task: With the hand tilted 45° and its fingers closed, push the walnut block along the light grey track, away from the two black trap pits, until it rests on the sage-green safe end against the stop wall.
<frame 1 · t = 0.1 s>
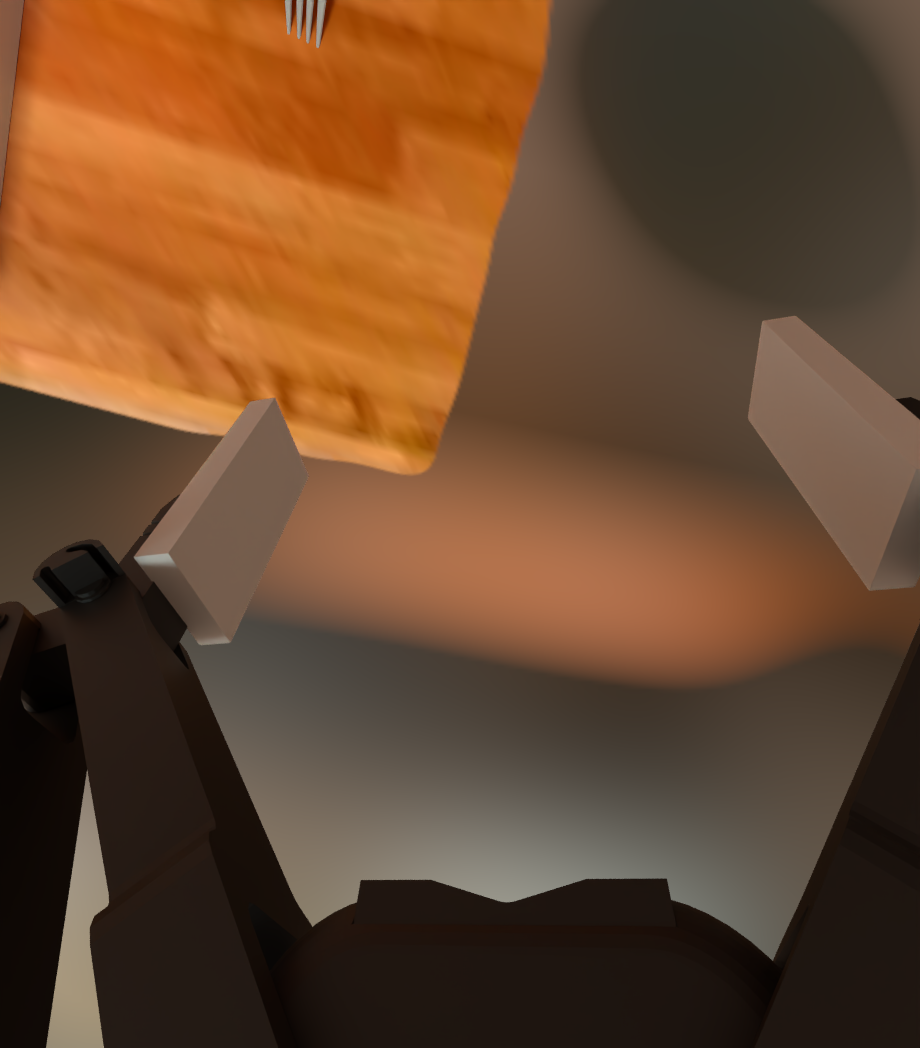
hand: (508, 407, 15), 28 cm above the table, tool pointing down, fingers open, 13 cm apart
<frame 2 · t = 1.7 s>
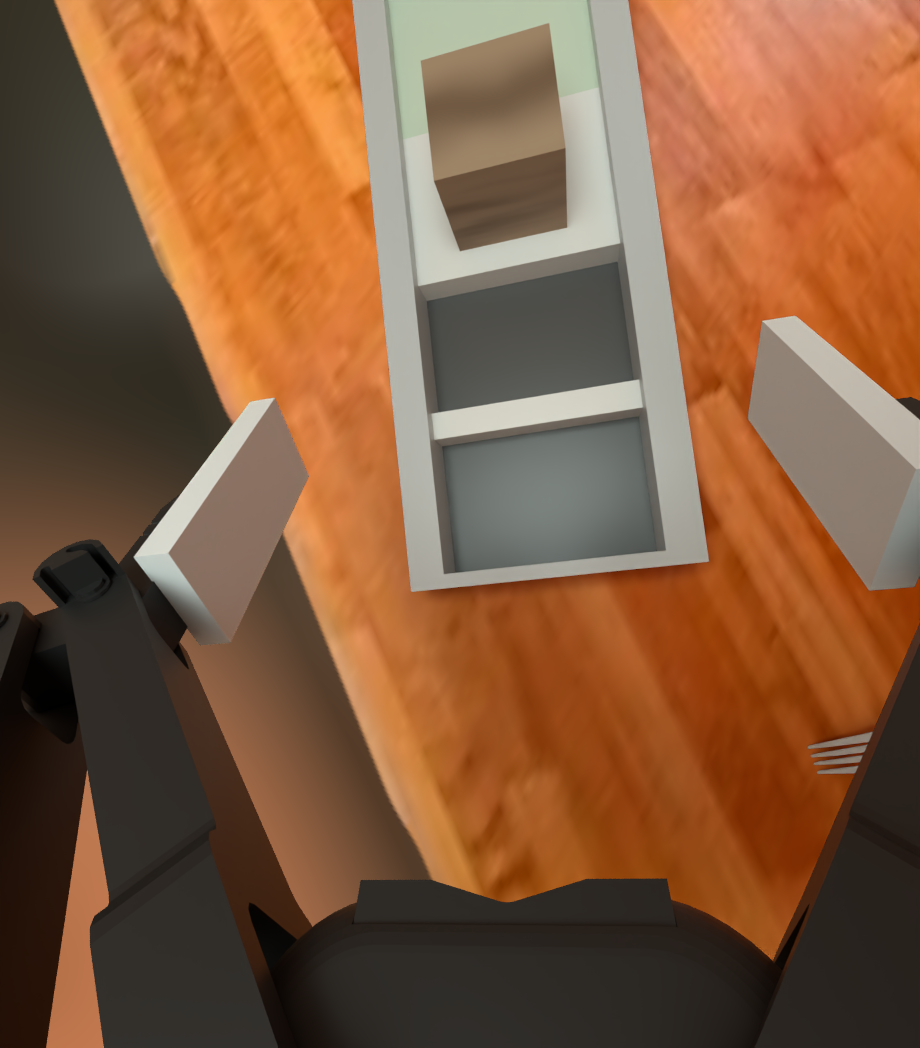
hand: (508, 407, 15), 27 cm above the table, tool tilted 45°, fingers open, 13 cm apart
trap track: (516, 261, 44), on the table
walnut block: (506, 188, 41), point 3 cm above the table, touching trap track
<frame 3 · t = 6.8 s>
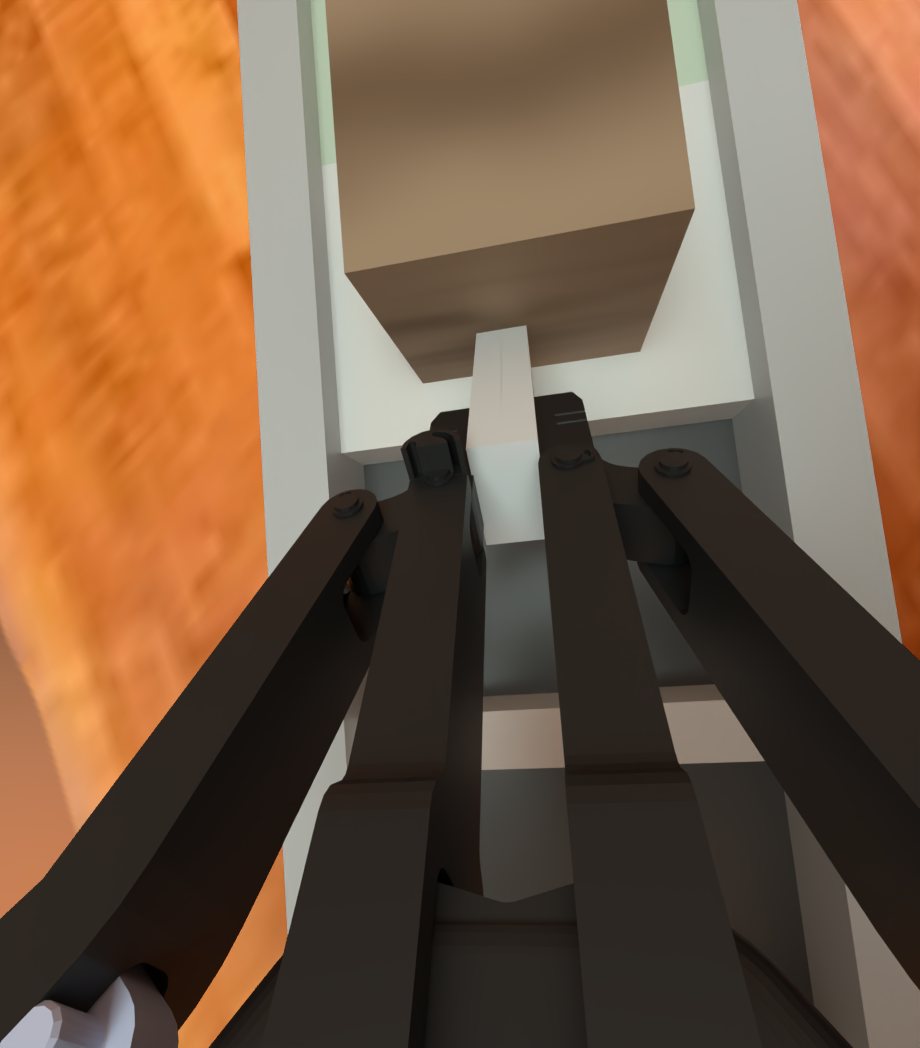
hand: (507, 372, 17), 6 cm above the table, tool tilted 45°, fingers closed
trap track: (533, 399, 23), on the table
walnut block: (517, 265, 21), point 3 cm above the table, touching gripper
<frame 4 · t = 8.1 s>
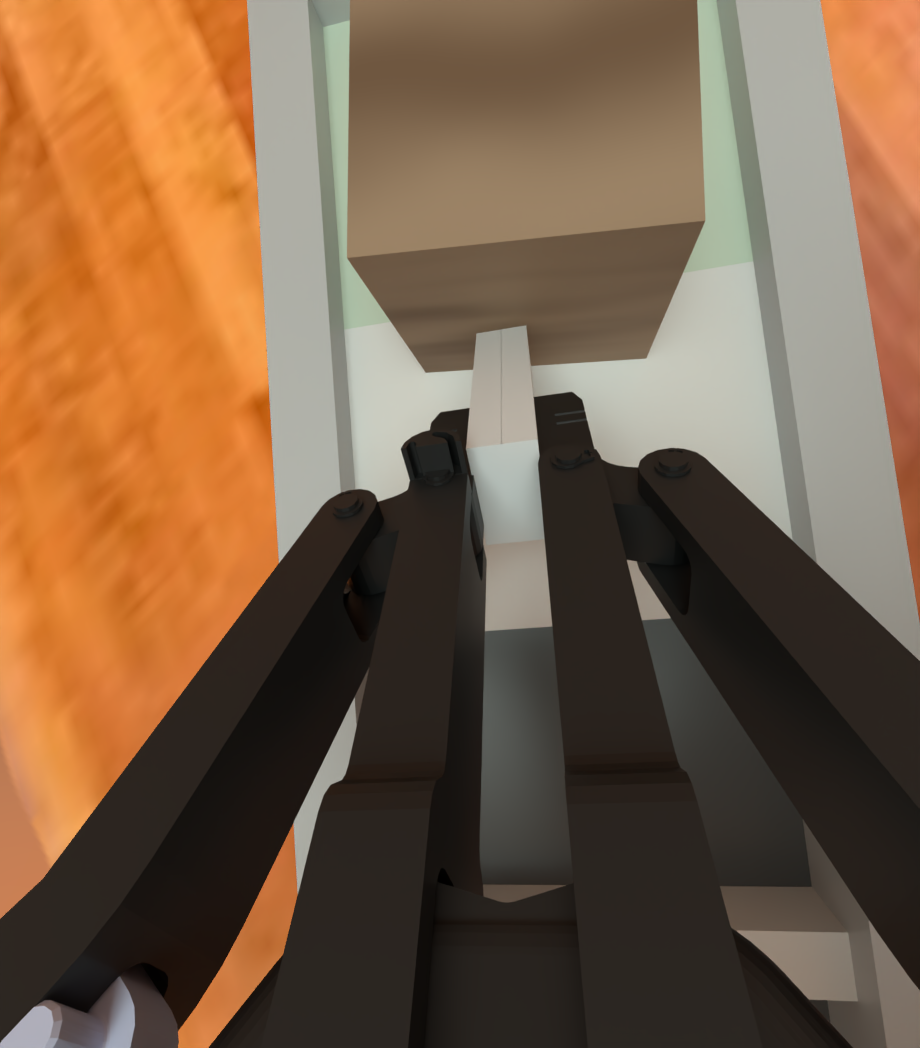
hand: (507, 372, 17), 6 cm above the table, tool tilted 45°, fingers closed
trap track: (563, 567, 22), on the table
walnut block: (530, 260, 21), point 3 cm above the table, touching gripper
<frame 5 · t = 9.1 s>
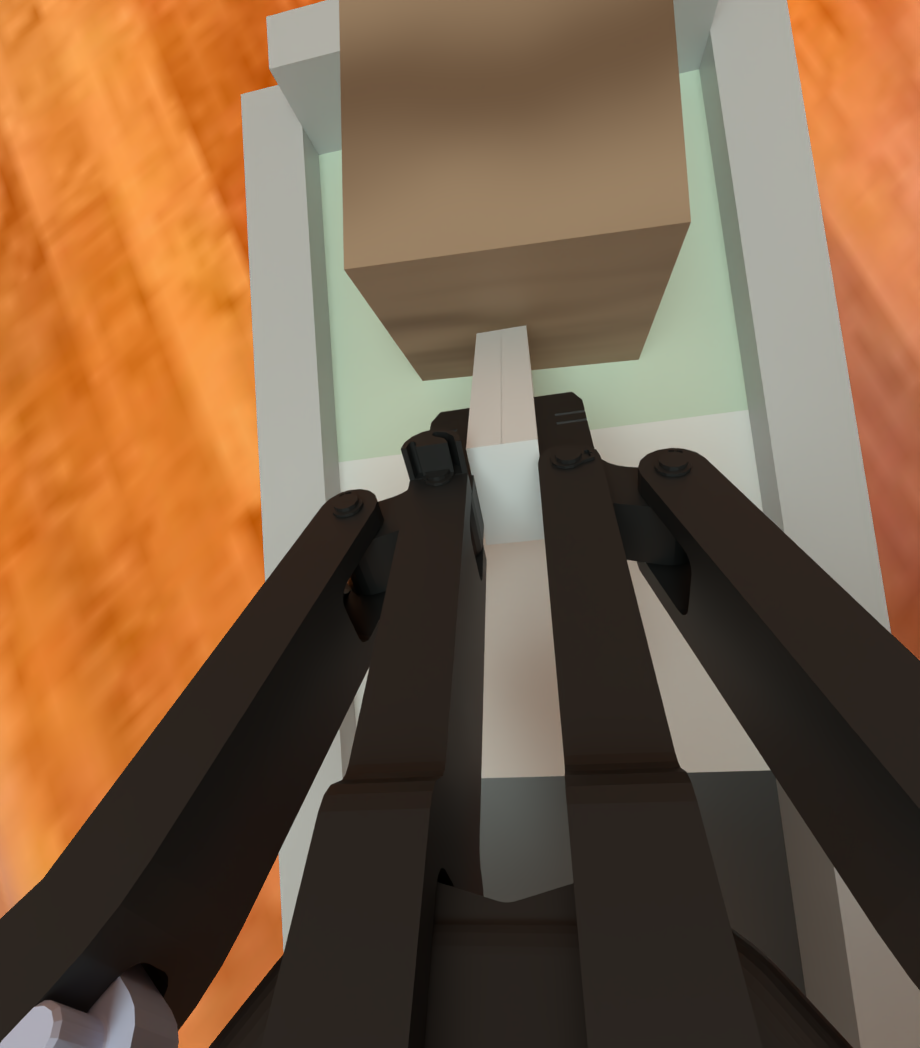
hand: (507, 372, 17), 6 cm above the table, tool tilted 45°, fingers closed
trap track: (559, 697, 22), on the table
walnut block: (522, 268, 21), point 3 cm above the table, touching gripper, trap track
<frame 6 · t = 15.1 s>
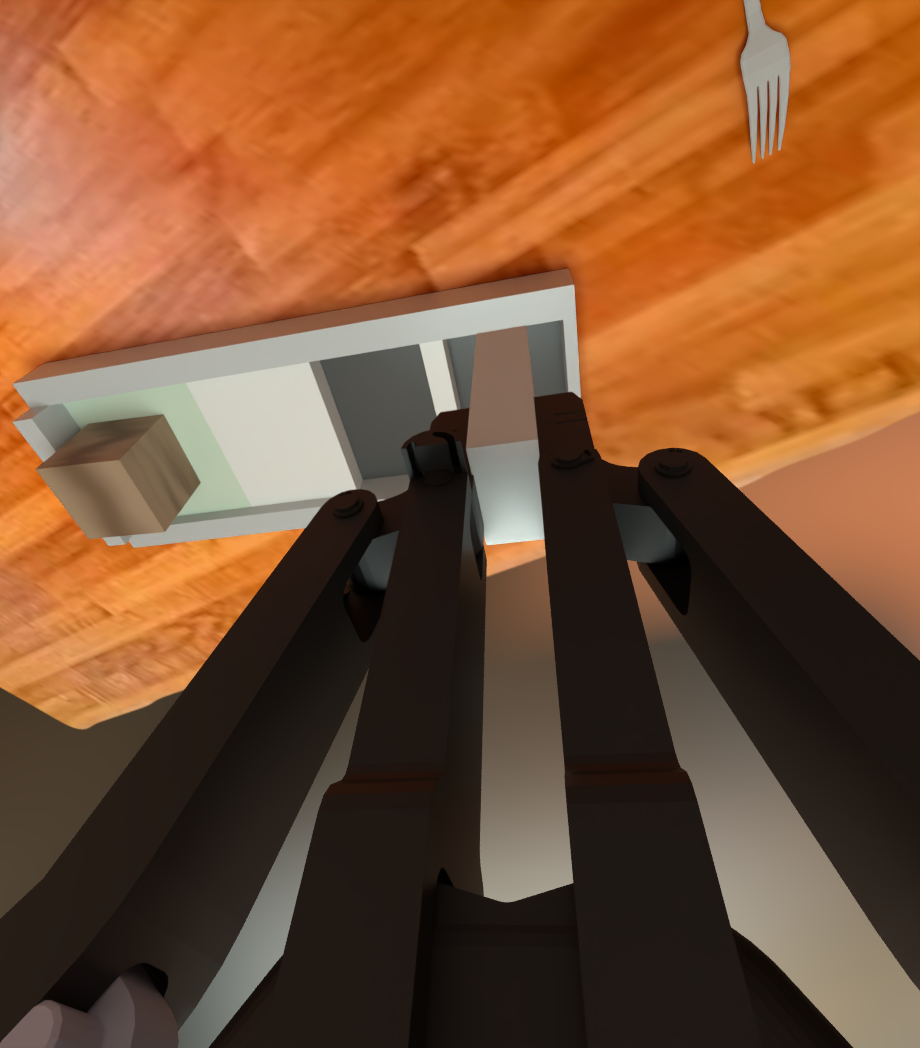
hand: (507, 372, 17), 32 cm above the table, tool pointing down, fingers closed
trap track: (322, 418, 56), on the table
walnut block: (146, 454, 56), point 3 cm above the table, touching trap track
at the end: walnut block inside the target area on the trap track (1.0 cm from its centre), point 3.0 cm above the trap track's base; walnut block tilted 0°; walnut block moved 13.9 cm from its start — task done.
